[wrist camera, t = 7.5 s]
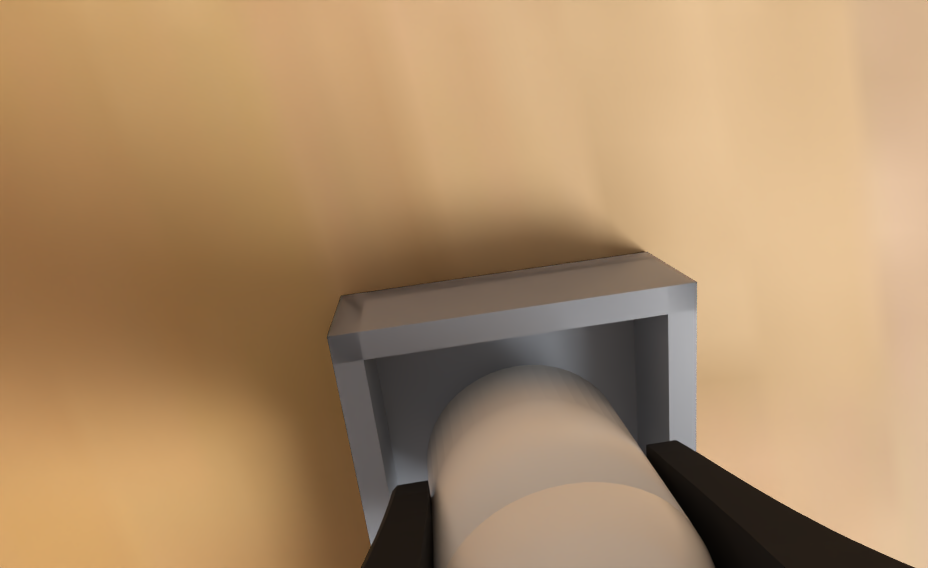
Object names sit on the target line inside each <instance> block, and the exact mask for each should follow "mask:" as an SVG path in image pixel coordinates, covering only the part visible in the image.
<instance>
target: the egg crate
mask: <svg viewBox="0 0 928 568" xmlns="http://www.w3.org/2000/svg"><path fill="white" fill-rule="evenodd" d="M327 339H328V344H329V349H330V353H331V358H332V363H333V368H334V372H335V377H336V382H337V387H338V391H339V396H340V401H341V406H342V410H343V415H344V420H345V425H346V429H347V434H348V439H349V444H350V449H351V453H352V458H353V463H354V468H355V472H356V477H357V482H358V487H359V491H360V496H361V501H362V506H363V510H364V515H365V520H366V525H367V529H368V534H369V539H370V544H371V545H372V543H373V541H374V539H375V536H376V534H377V531H378V529H379V527H380V524H381V522H382V519H383V517H384V514H385V512H386V509H387V506H388V503H389V500H390V497H391V494H392V491H393V490H394V488H395V487H396V486H397V485H402V484H408V483H414V482H420V481H427V480H428V469H427V451H428V444H429V440H430V436H431V433H432V430H433V428H434V425H435V423H436V421H437V419H438V418H439V416H440V414H441V413H442V411H443V410H444V409H445V407H446V406H447V404H448V403H449V402H450V401H451V400H452V399H453V398H454V397H455V396H456V395H457V394H458V393H459V392H461V391H462V390H463V389H464V388H465V387H467V386H468V385H470V384H471V383H473V382H474V381H476V380H478V379H480V378H482V377H484V376H486V375H488V374H490V373H493V372H496V371H499V370H501V369H505V368H510V367H514V366H523V365H545V366H551V367H557V368H560V369H564V370H567V371H570V372H572V373H574V374H577V375H579V376H581V377H582V378H584V379H585V380H587V381H589V382H590V383H591V384H593V385H594V386H595V387H596V388H597V389H599V391H600V392H601V393H602V394H603V395H604V396H605V397H606V399H607V400H608V401H609V403H610V404H611V406H612V407H613V409H614V410H615V412H616V413H617V415H618V416H619V418H620V419H621V420H622V422H623V423H624V425H625V426H626V428H627V429H628V431H629V432H630V434H631V435H632V437H633V438H634V440H635V441H636V442H637V444H638V445H639V447H640V448H641V450H642V451H643V453H644V454H645V456H646V445H648V444H654V443H660V442H666V441H672V440H677V441H679V442H681V443H682V444H684V445H686V446H687V447H689V448H691V449H692V450H694V451H696V354H697V282H696V281H694V280H693V279H691V278H689V277H688V276H686V275H684V274H683V273H681V272H679V271H678V270H676V269H675V268H673V267H671V266H670V265H668V264H666V263H665V262H663V261H661V260H660V259H658V258H657V257H655V256H653V255H652V254H650V253H648V252H642V253H635V254H628V255H621V256H614V257H607V258H600V259H593V260H587V261H580V262H573V263H566V264H559V265H552V266H545V267H538V268H531V269H524V270H517V271H510V272H503V273H496V274H489V275H482V276H475V277H468V278H462V279H455V280H448V281H441V282H434V283H427V284H420V285H413V286H406V287H399V288H392V289H385V290H378V291H371V292H364V293H357V294H350V295H343V296H341V297H340V300H339V303H338V306H337V309H336V312H335V315H334V318H333V321H332V324H331V326H330V329H329V332H328V335H327Z"/></svg>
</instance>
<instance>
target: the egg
mask: <svg viewBox="0 0 928 568" xmlns="http://www.w3.org/2000/svg"><path fill="white" fill-rule="evenodd" d="M427 469H428V483H429V489H430V495H431V508H432V524H433V558H434V568H715V565H714V563H713V560H712V558H711V556H710V553H709V551H708V549H707V547H706V546H705V544H704V542H703V540H702V539H701V537H700V535H699V534H698V532H697V531H696V529H695V528H694V526H693V525H692V523H691V522H690V520H689V519H688V517H687V516H686V514H685V513H684V511H683V510H682V508H681V507H680V505H679V504H678V503H677V501H676V500H675V498H674V497H673V495H672V494H671V492H670V491H669V489H668V488H667V486H666V485H665V483H664V482H663V481H662V479H661V478H660V476H659V475H658V473H657V472H656V470H655V469H654V467H653V466H652V464H651V463H650V462H649V460H648V459H647V457H646V456H645V454H644V453H643V451H642V450H641V448H640V447H639V445H638V444H637V442H636V441H635V440H634V438H633V437H632V435H631V434H630V432H629V431H628V429H627V428H626V426H625V425H624V423H623V422H622V420H621V419H620V418H619V416H618V415H617V413H616V412H615V410H614V409H613V407H612V406H611V404H610V403H609V401H608V400H607V399H606V397H605V396H604V395H603V394H602V393H601V392H600V391H599V389H597V388H596V387H595V386H594V385H593V384H591V383H590V382H589V381H587V380H585V379H584V378H582V377H581V376H579V375H577V374H574V373H572V372H570V371H567V370H564V369H560V368H557V367H551V366H545V365H523V366H514V367H510V368H505V369H501V370H499V371H496V372H493V373H490V374H488V375H486V376H484V377H482V378H480V379H478V380H476V381H474V382H473V383H471V384H470V385H468V386H467V387H465V388H464V389H463V390H462V391H461V392H459V393H458V394H457V395H456V396H455V397H454V398H453V399H452V400H451V401H450V402H449V403H448V404H447V406H446V407H445V409H444V410H443V411H442V413H441V414H440V416H439V418H438V419H437V421H436V423H435V425H434V428H433V430H432V433H431V436H430V440H429V444H428V451H427Z"/></svg>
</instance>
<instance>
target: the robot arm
mask: <svg viewBox="0 0 928 568" xmlns="http://www.w3.org/2000/svg"><path fill="white" fill-rule="evenodd" d="M646 457H647V459H648V460H649V462H650V463H651V464H652V466H653V467H654V469H655V470H656V472H657V473H658V475H659V476H660V478H661V479H662V481H663V482H664V483H665V485H666V486H667V488H668V489H669V491H670V492H671V494H672V495H673V497H674V498H675V500H676V501H677V503H678V504H679V505H680V507H681V508H682V510H683V511H684V513H685V514H686V516H687V517H688V519H689V520H690V522H691V523H692V525H693V526H694V528H695V529H696V531H697V532H698V534H699V535H700V537H701V539H702V540H703V542H704V544H705V546H706V547H707V549H708V551H709V553H710V556H711V558H712V560H713V563H714V565H715V568H914V567H912V566H910V565H907V564H905V563H902V562H900V561H898V560H895V559H893V558H891V557H889V556H886V555H884V554H882V553H880V552H878V551H875V550H873V549H871V548H869V547H866V546H864V545H862V544H860V543H858V542H855V541H853V540H851V539H849V538H847V537H845V536H843V535H841V534H839V533H837V532H835V531H833V530H831V529H829V528H827V527H825V526H823V525H821V524H819V523H817V522H815V521H813V520H812V519H810V518H808V517H806V516H804V515H802V514H800V513H798V512H796V511H795V510H793V509H791V508H789V507H787V506H786V505H784V504H782V503H780V502H778V501H777V500H775V499H773V498H771V497H770V496H768V495H766V494H765V493H763V492H761V491H759V490H758V489H756V488H754V487H753V486H751V485H749V484H748V483H746V482H744V481H743V480H741V479H739V478H738V477H736V476H734V475H733V474H731V473H730V472H728V471H726V470H725V469H723V468H721V467H720V466H718V465H717V464H715V463H713V462H712V461H710V460H709V459H707V458H705V457H704V456H702V455H701V454H699V453H697V452H696V451H694V450H692V449H691V448H689V447H687V446H686V445H684V444H682V443H681V442H679V441H677V440H672V441H666V442H660V443H654V444H648V445H646ZM361 568H434V558H433V524H432V508H431V495H430V489H429V483H428V480H427V481H420V482H414V483H408V484H402V485H397V486H396V487H395V488H394V490H393V491H392V494H391V497H390V500H389V503H388V506H387V509H386V512H385V514H384V517H383V519H382V522H381V524H380V527H379V529H378V531H377V534H376V536H375V539H374V541H373V543H372V545H371V547H370V549H369V551H368V553H367V556H366V558H365V560H364V562H363V564H362V566H361Z"/></svg>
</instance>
